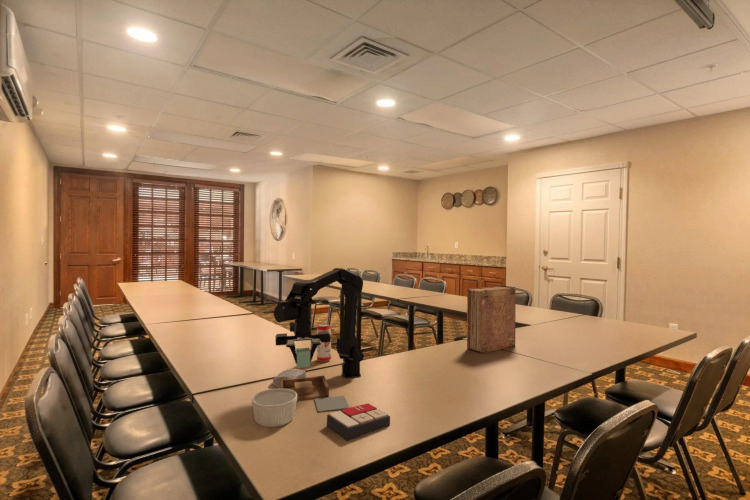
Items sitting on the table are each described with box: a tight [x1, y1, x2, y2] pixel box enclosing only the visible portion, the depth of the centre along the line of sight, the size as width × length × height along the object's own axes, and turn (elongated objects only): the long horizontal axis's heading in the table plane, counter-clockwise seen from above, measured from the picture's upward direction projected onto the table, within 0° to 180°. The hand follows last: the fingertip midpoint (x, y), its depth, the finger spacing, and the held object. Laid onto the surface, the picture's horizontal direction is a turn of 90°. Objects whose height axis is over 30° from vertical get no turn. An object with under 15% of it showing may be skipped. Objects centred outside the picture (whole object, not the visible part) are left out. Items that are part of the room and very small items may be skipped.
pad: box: [314, 395, 351, 413], centre depth 128 cm, size 10×10×1 cm
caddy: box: [279, 375, 330, 402], centre depth 137 cm, size 16×12×4 cm
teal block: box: [295, 347, 311, 369], centre depth 137 cm, size 4×4×6 cm
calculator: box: [326, 402, 391, 442], centre depth 113 cm, size 11×4×15 cm
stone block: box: [272, 368, 307, 388], centre depth 149 cm, size 12×5×10 cm
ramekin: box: [251, 387, 298, 428], centre depth 117 cm, size 13×13×7 cm
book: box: [466, 285, 517, 354], centre depth 195 cm, size 25×9×30 cm, turn 123°
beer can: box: [316, 323, 332, 363], centre depth 175 cm, size 6×6×16 cm
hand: (303, 362), depth 137 cm, fingers closed on teal block, 4 cm apart
